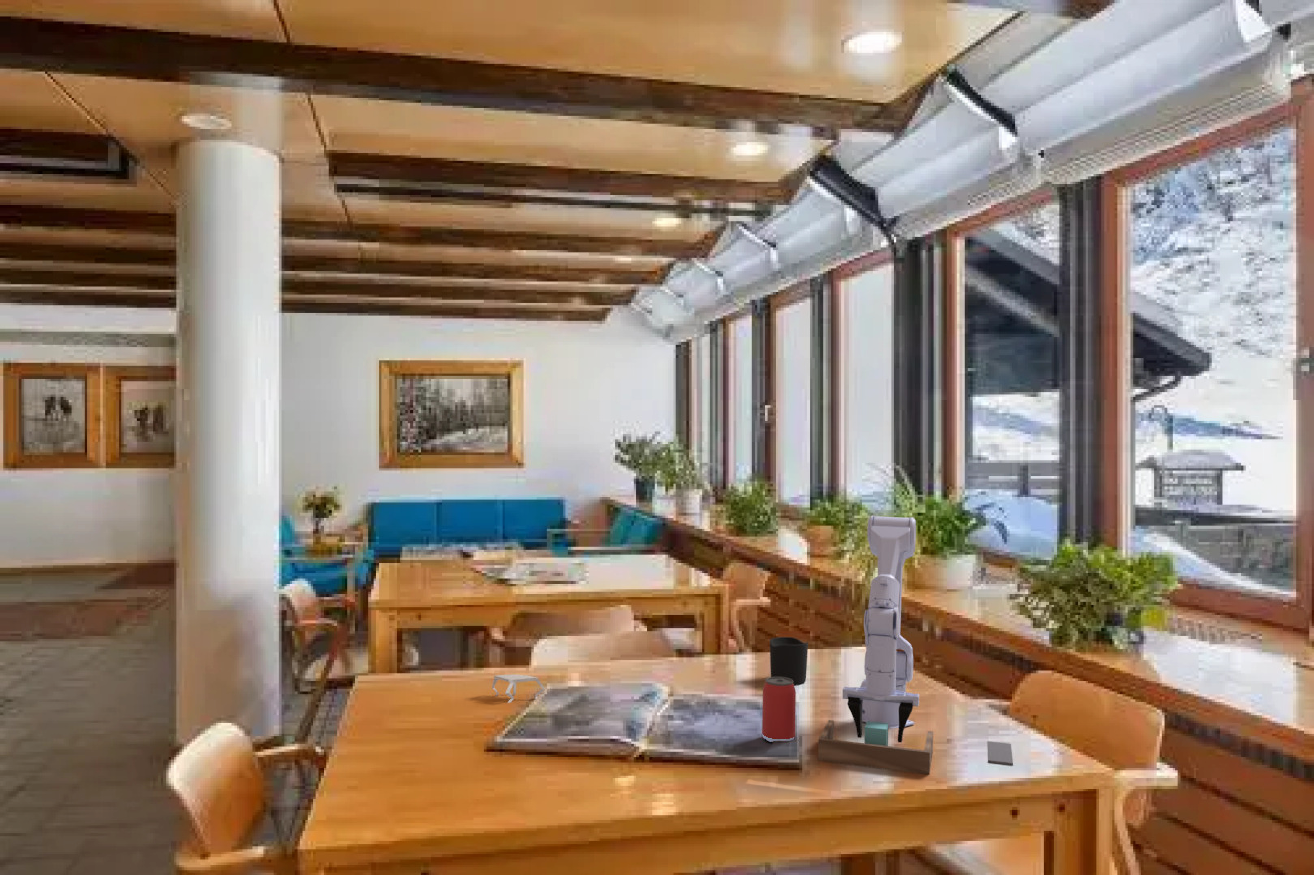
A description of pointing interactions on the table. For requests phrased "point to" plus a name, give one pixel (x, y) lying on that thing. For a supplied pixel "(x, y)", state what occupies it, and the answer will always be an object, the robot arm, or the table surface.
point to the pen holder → (788, 659)
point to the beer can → (778, 708)
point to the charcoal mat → (999, 753)
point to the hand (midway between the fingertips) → (879, 738)
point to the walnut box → (874, 753)
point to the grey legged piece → (513, 680)
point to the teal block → (876, 733)
